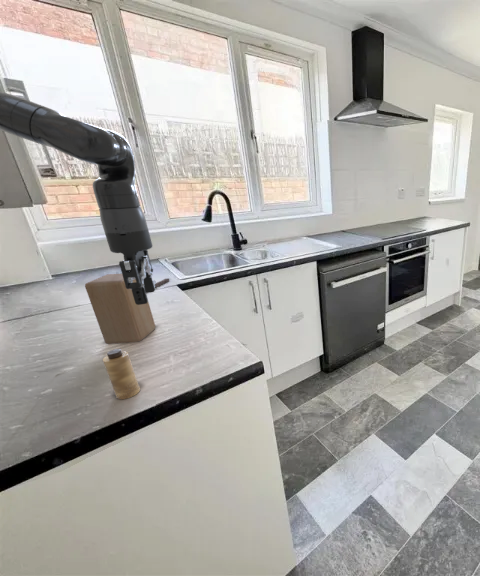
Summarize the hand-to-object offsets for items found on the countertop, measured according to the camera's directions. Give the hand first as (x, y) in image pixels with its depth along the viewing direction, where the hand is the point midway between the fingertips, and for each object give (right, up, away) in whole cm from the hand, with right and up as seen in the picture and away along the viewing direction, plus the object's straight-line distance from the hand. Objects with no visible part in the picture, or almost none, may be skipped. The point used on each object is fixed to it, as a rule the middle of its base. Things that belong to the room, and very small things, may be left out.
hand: (146, 297), depth 73 cm
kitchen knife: (-51, +1, +68) cm, 85 cm away
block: (-25, -14, +26) cm, 38 cm away
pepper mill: (-4, -22, -1) cm, 23 cm away
